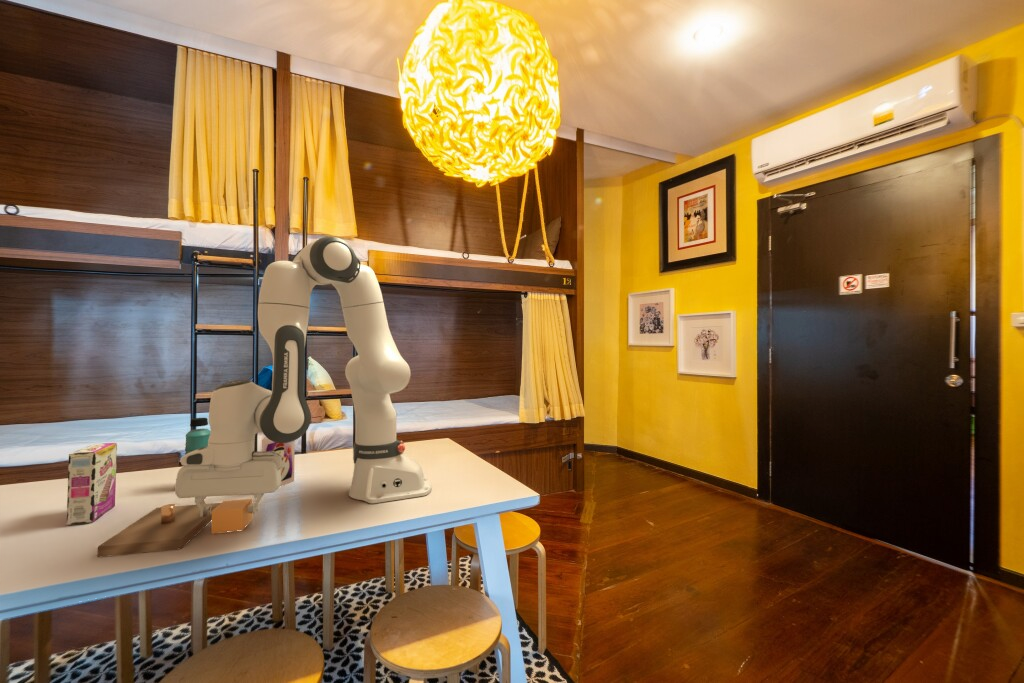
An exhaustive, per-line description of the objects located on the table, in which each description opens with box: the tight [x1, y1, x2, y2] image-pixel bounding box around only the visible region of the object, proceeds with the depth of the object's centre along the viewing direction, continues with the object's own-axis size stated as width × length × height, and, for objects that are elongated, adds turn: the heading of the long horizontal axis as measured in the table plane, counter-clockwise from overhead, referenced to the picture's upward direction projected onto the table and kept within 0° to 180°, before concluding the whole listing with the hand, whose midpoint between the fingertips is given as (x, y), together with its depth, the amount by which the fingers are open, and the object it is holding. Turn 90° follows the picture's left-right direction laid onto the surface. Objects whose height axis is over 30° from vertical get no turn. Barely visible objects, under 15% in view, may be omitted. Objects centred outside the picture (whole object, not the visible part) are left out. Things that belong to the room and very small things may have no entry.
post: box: [161, 503, 176, 524], centre depth 93 cm, size 2×2×4 cm
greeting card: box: [261, 436, 296, 487], centre depth 122 cm, size 11×7×15 cm, turn 163°
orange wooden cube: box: [211, 498, 253, 534], centre depth 95 cm, size 6×6×5 cm
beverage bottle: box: [184, 417, 211, 455], centre depth 121 cm, size 6×7×20 cm
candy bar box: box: [66, 442, 118, 526], centre depth 101 cm, size 11×5×16 cm, turn 23°
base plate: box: [96, 502, 221, 558], centre depth 93 cm, size 14×20×2 cm
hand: (229, 513), depth 95 cm, fingers open, 8 cm apart
